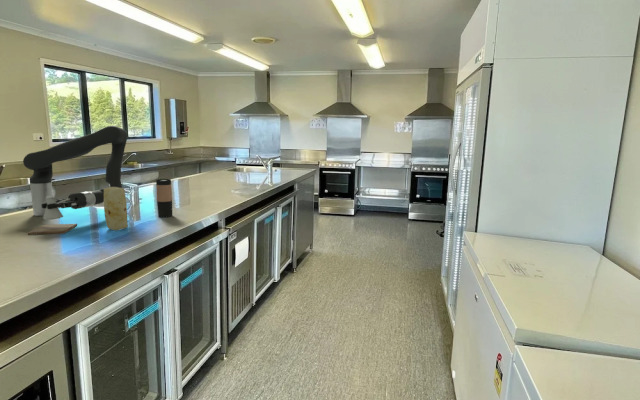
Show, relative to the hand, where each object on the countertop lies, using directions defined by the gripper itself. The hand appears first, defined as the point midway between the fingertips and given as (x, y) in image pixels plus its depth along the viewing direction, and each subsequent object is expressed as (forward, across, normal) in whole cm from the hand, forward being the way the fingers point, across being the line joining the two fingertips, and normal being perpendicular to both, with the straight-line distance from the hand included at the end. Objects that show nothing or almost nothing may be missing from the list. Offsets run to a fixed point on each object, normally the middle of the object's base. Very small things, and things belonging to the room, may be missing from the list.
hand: (45, 206), depth 164 cm
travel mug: (-47, +22, +13) cm, 54 cm away
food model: (-16, +23, +12) cm, 31 cm away
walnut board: (-3, 0, +12) cm, 12 cm away
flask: (-3, 0, +6) cm, 7 cm away
